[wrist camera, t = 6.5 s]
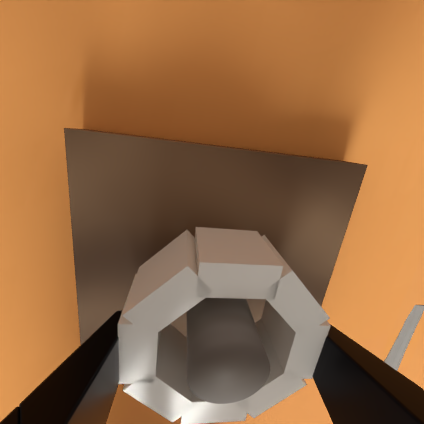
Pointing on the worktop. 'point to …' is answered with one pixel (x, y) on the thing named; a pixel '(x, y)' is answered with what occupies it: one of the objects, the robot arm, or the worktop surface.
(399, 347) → the butter knife
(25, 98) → the worktop surface
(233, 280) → the ring
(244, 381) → the peg stand
